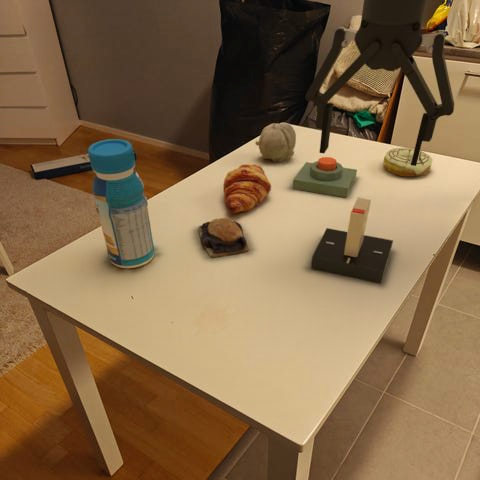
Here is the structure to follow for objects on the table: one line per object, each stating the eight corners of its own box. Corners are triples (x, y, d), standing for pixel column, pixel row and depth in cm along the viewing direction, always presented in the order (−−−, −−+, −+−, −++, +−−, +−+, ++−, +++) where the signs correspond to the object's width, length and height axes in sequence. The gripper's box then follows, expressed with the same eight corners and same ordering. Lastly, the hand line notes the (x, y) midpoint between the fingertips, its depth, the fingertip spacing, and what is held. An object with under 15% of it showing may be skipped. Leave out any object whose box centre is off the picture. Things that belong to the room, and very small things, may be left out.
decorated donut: (426, 182, 104) (430, 166, 101) (378, 174, 107) (381, 158, 105) (432, 164, 111) (436, 148, 108) (386, 157, 114) (390, 142, 112)
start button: (337, 166, 102) (338, 158, 101) (333, 173, 100) (334, 165, 98) (319, 163, 104) (320, 155, 102) (315, 170, 101) (316, 162, 100)
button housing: (355, 178, 106) (358, 161, 103) (346, 197, 99) (348, 180, 96) (305, 170, 109) (306, 154, 107) (292, 188, 102) (293, 171, 100)
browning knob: (350, 238, 82) (357, 196, 76) (363, 241, 81) (371, 198, 76) (343, 255, 78) (350, 211, 73) (356, 257, 77) (364, 213, 72)
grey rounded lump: (292, 166, 117) (309, 129, 110) (277, 173, 111) (294, 134, 104) (262, 147, 119) (277, 110, 112) (246, 153, 113) (260, 114, 106)
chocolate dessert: (195, 229, 90) (194, 212, 88) (237, 223, 91) (237, 206, 89) (206, 259, 82) (205, 241, 80) (252, 251, 84) (252, 234, 81)
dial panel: (390, 252, 83) (393, 239, 81) (381, 283, 76) (384, 270, 74) (325, 239, 86) (326, 227, 85) (310, 268, 80) (312, 255, 78)
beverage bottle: (143, 273, 79) (121, 160, 66) (99, 266, 81) (70, 154, 68) (163, 247, 85) (147, 139, 72) (122, 241, 87) (99, 134, 74)
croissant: (246, 188, 110) (230, 158, 106) (283, 172, 105) (268, 140, 102) (221, 231, 95) (202, 198, 91) (264, 215, 90) (246, 179, 86)
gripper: (290, -16, 57) (281, 154, 71) (512, -9, 50) (453, 178, 64) (306, -23, 62) (295, 137, 76) (509, -18, 55) (456, 157, 69)
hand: (367, 156), depth 70 cm, fingers open, 13 cm apart
